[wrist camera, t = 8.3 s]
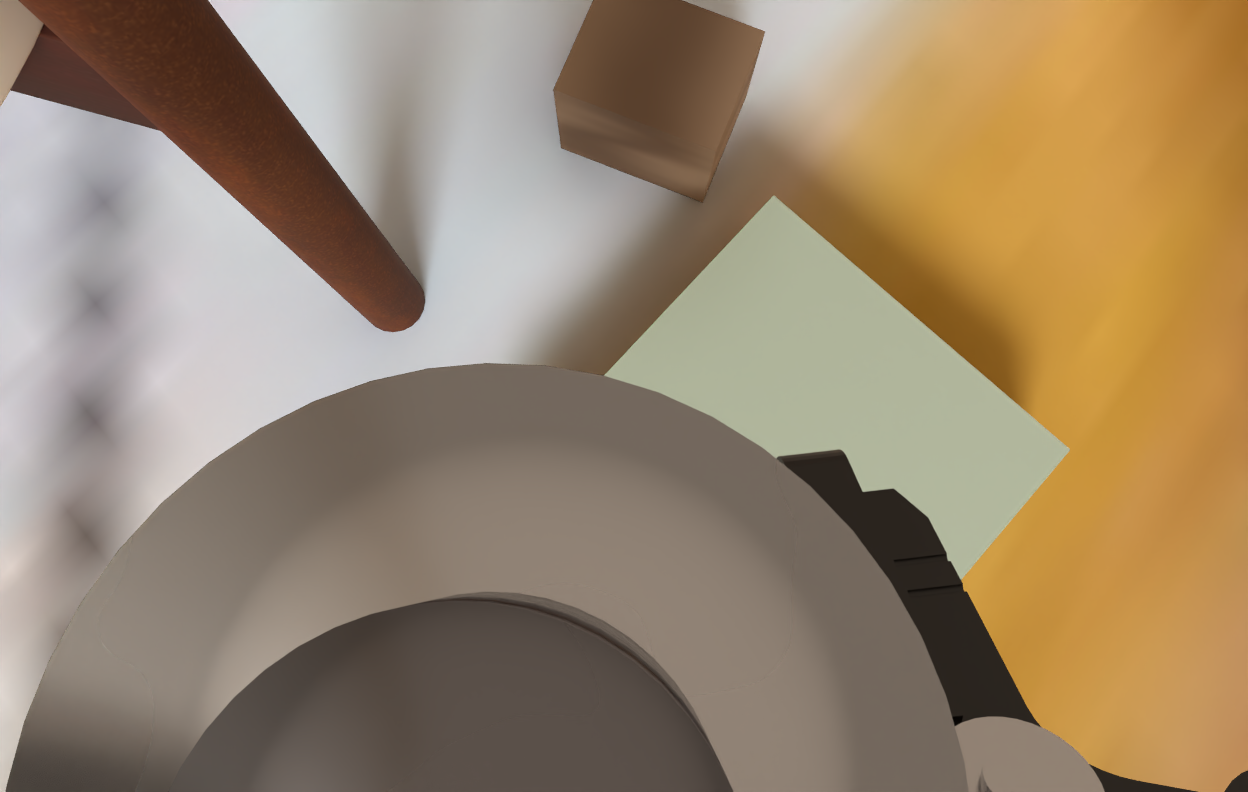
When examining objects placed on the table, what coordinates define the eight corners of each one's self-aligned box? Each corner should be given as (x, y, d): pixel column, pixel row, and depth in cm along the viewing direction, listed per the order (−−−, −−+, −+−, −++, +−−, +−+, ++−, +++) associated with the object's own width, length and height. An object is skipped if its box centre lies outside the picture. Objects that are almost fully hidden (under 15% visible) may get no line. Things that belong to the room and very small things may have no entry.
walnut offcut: (561, 149, 30) (553, 89, 26) (606, 46, 31) (605, -28, 27) (702, 203, 30) (715, 151, 26) (745, 98, 30) (764, 31, 26)
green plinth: (523, 480, 28) (512, 472, 25) (757, 230, 29) (773, 195, 27) (792, 732, 27) (814, 755, 24) (1023, 459, 28) (1070, 449, 25)
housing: (302, 662, 15) (-583, 955, 4) (571, 386, 16) (453, -3, 5) (581, 952, 14) (436, 2304, 3) (848, 647, 15) (1461, 896, 4)
